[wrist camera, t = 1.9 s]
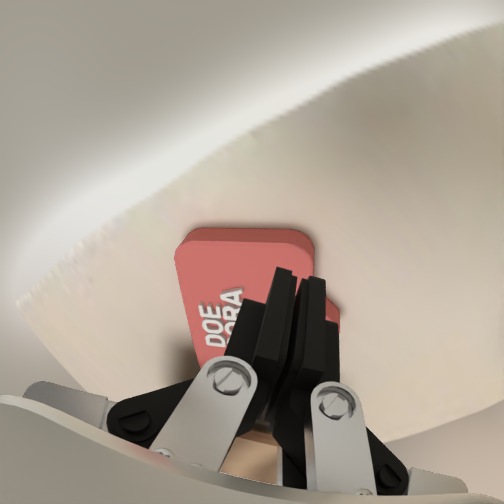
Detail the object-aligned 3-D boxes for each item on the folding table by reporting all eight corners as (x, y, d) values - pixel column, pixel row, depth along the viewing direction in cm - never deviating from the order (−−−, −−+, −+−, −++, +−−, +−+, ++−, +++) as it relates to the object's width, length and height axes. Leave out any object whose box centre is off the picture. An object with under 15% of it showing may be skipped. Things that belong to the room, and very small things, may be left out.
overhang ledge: (330, 383, 36) (326, 455, 27) (300, 427, 42) (291, 487, 33) (172, 339, 37) (138, 403, 29) (170, 391, 44) (145, 446, 35)
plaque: (330, 393, 32) (200, 380, 35) (331, 368, 36) (209, 358, 39) (349, 249, 24) (167, 243, 27) (346, 228, 27) (183, 225, 30)
